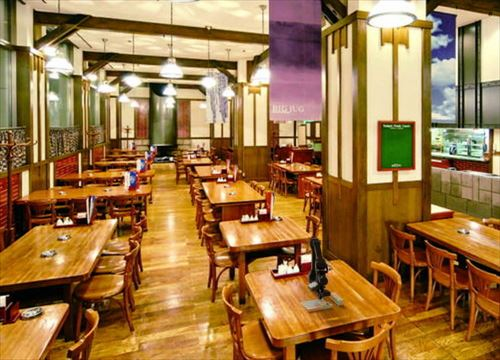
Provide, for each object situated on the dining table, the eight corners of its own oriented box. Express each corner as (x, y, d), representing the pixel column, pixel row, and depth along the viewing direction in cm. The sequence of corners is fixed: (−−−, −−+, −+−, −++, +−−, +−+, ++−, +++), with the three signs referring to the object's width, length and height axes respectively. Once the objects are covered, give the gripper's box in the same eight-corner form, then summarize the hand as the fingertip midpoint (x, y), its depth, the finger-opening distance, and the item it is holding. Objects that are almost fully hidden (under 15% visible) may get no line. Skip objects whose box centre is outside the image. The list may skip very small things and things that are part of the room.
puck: (317, 304, 244) (317, 301, 243) (324, 303, 245) (324, 300, 245) (321, 308, 239) (321, 304, 239) (327, 307, 240) (327, 303, 240)
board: (299, 303, 247) (299, 300, 246) (322, 299, 252) (322, 296, 252) (308, 313, 235) (308, 309, 234) (332, 308, 240) (332, 304, 240)
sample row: (328, 299, 253) (329, 293, 252) (334, 298, 254) (335, 292, 254) (337, 307, 242) (337, 300, 241) (343, 305, 244) (344, 299, 243)
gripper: (303, 274, 250) (303, 295, 252) (316, 286, 232) (316, 308, 235) (318, 272, 253) (317, 292, 256) (331, 284, 236) (330, 305, 238)
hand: (320, 299), depth 246 cm, fingers closed
